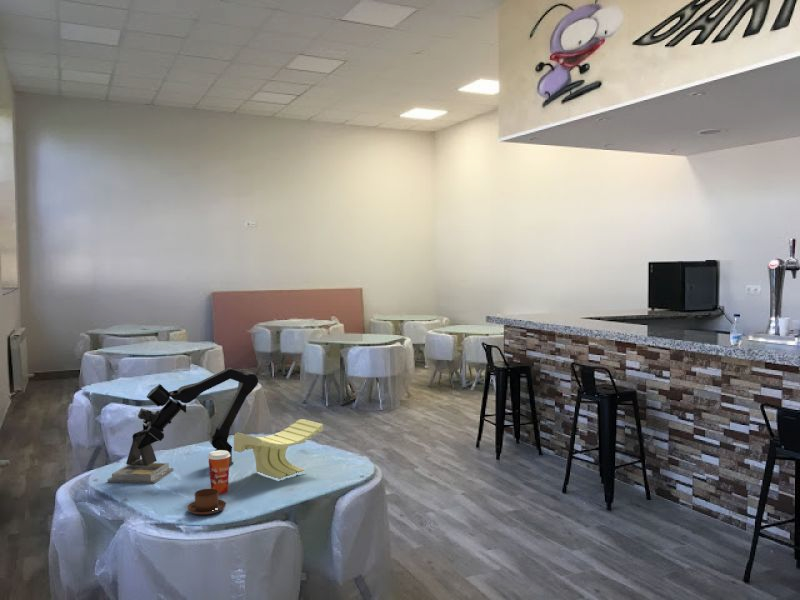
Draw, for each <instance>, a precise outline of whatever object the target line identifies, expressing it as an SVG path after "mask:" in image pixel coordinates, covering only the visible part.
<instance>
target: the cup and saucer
mask: <svg viewBox="0 0 800 600" xmlns="http://www.w3.org/2000/svg"><path fill="white" fill-rule="evenodd" d="M226 505H227V503H226V501H224V500H222V499H219V495H218V490H216V489H211V488H203V489H199V490H196V491H195V492H194V501H192V502H191V503H189V504H188V505H187V507H186V508H187V510H188V511H189V513H191V514H193V515H199V516H200V515H201V516H207V515H211V514H216V513H219V512H220V511H222V510H223V509H224V508H225V507H226ZM215 508H218V510H215ZM212 510H214V511H212Z"/></svg>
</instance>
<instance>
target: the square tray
mask: <svg viewBox="0 0 800 600" xmlns="http://www.w3.org/2000/svg"><path fill="white" fill-rule="evenodd" d="M172 472H174V467H170V463H169V462H168V463H167V462H154V463H152V464H150V465H148V466H141V465H127V464H126V465H124V466H123V467H121V468H119V469H118V470H116V471H115V472H113V473H111V477H109V478H107V480H106V481H109V482H108V483H113V482H120V483H119V484H122V483H124V484H142V485H143V484H144V485H146V484H147V485H148V484H149V485H155V484H156V483H158V482H159V481H160V480H162V479H164V477H166V476H168V475H169V474H171V473H172Z"/></svg>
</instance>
